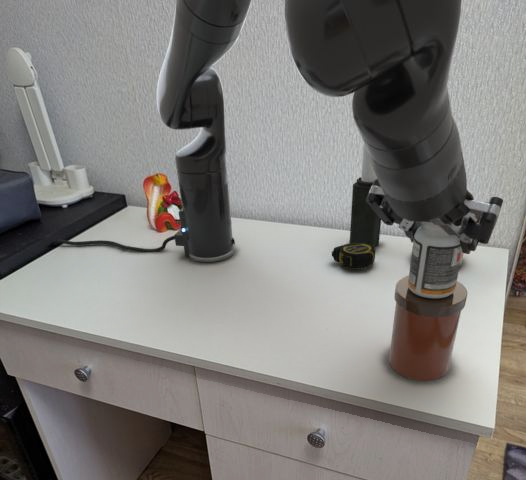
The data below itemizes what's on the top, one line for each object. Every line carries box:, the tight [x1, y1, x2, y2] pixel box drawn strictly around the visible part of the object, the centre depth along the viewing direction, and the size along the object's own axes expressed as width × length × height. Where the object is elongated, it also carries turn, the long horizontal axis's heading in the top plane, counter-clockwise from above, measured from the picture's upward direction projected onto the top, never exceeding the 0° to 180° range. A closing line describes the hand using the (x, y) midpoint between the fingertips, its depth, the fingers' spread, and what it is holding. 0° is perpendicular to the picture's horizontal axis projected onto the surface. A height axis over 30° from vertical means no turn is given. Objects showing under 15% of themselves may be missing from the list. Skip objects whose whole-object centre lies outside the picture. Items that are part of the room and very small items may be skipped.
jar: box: [388, 275, 468, 382], centre depth 65 cm, size 9×9×12 cm
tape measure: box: [331, 242, 376, 270], centre depth 93 cm, size 7×7×4 cm
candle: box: [349, 143, 382, 249], centre depth 93 cm, size 5×5×25 cm
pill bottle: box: [408, 222, 462, 299], centre depth 59 cm, size 6×6×10 cm
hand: (442, 240), depth 59 cm, fingers closed on pill bottle, 5 cm apart
